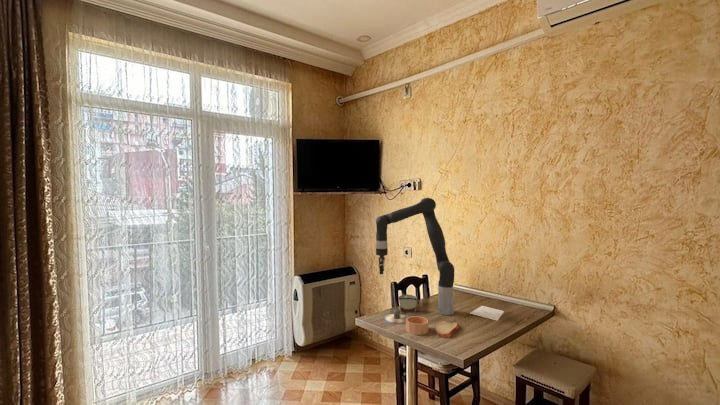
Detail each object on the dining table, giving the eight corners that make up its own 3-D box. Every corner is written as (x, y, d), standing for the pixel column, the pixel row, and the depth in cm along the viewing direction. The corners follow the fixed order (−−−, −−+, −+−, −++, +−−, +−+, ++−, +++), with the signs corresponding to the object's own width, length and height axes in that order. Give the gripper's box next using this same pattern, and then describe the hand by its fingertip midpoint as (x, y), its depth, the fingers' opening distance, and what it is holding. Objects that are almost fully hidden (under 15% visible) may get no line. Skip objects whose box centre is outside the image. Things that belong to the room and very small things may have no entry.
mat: (409, 316, 202) (409, 315, 202) (410, 325, 187) (410, 324, 187) (384, 315, 204) (384, 314, 204) (383, 324, 189) (383, 323, 189)
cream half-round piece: (416, 309, 214) (417, 294, 214) (417, 313, 208) (417, 297, 208) (398, 309, 215) (398, 294, 215) (398, 312, 209) (398, 296, 209)
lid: (408, 315, 202) (408, 307, 202) (409, 324, 188) (409, 315, 188) (385, 314, 203) (385, 306, 203) (384, 323, 189) (384, 314, 189)
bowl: (427, 327, 185) (427, 316, 185) (429, 336, 173) (429, 324, 173) (405, 326, 186) (405, 315, 186) (406, 334, 174) (406, 323, 174)
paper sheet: (483, 306, 224) (483, 304, 224) (528, 318, 203) (528, 317, 203) (466, 313, 208) (466, 312, 208) (513, 328, 187) (513, 326, 187)
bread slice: (441, 339, 169) (441, 332, 169) (425, 326, 187) (425, 320, 187) (471, 336, 174) (471, 329, 174) (453, 323, 192) (453, 317, 191)
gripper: (387, 249, 201) (387, 275, 201) (388, 245, 215) (388, 270, 215) (374, 249, 202) (375, 275, 202) (376, 245, 216) (376, 270, 216)
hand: (381, 272), depth 209 cm, fingers open, 8 cm apart
